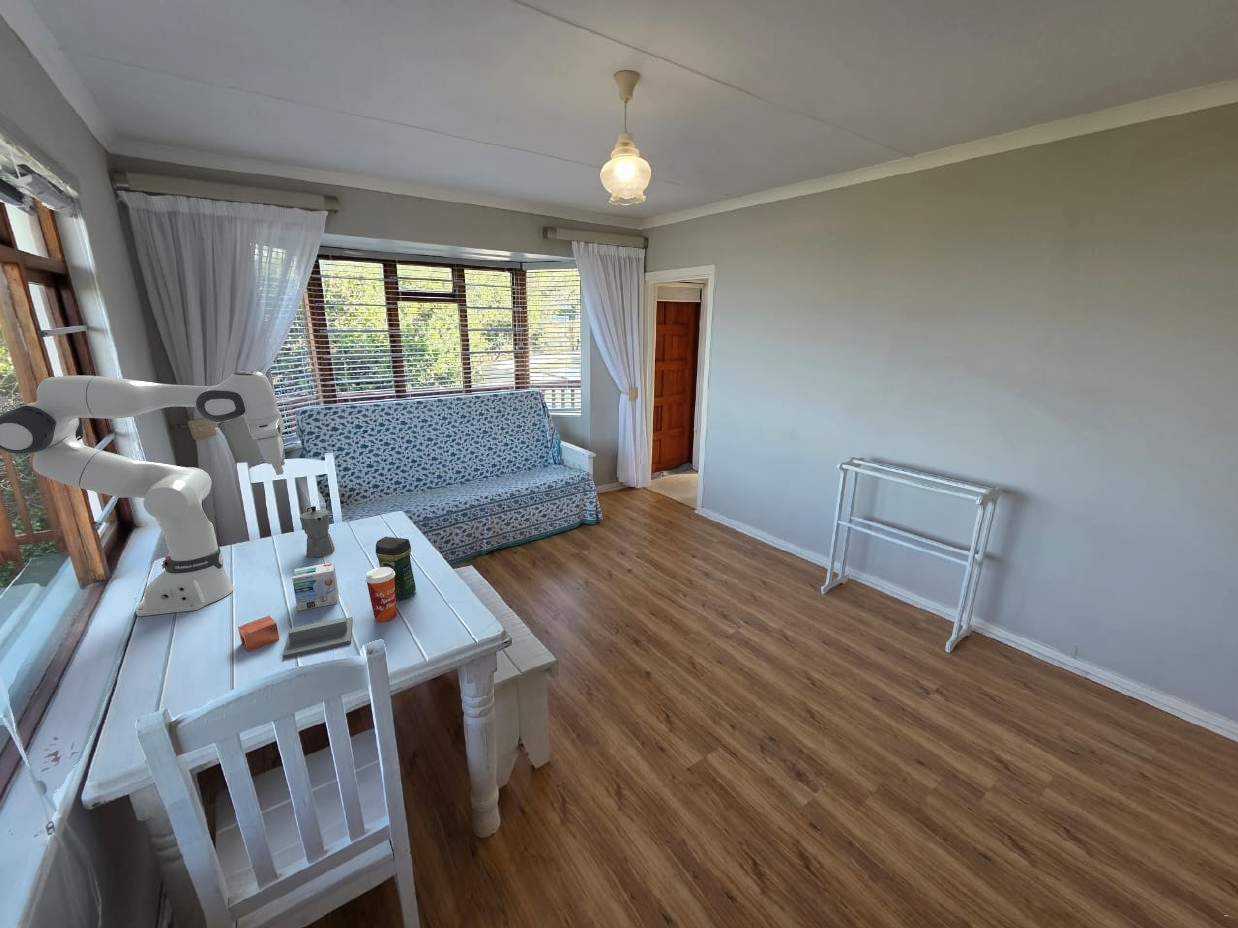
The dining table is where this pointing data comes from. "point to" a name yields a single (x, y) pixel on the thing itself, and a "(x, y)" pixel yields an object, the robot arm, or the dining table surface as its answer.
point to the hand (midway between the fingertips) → (281, 469)
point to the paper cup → (382, 593)
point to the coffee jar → (397, 564)
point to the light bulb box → (315, 586)
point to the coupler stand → (318, 637)
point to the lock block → (258, 633)
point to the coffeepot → (317, 532)
